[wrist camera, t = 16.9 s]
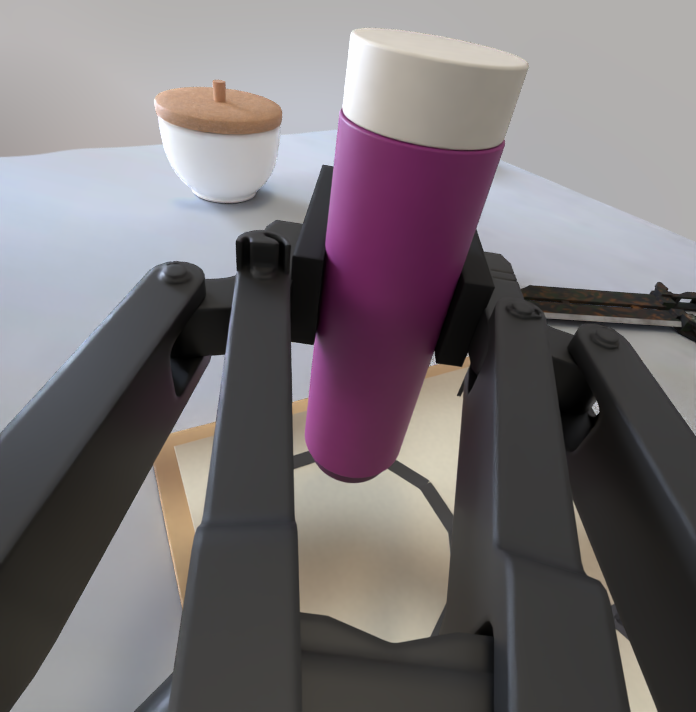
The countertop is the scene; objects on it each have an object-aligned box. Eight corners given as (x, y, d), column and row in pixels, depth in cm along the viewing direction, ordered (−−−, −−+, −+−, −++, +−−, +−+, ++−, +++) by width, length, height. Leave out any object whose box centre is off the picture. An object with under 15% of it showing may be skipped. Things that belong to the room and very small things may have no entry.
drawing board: (150, 448, 21) (147, 435, 21) (477, 361, 30) (482, 350, 29) (357, 1473, 7) (366, 1532, 7) (870, 774, 16) (897, 769, 15)
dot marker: (289, 427, 18) (319, 20, 9) (369, 405, 19) (458, 35, 11) (326, 505, 15) (411, 59, 7) (413, 473, 17) (573, 72, 8)
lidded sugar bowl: (142, 184, 43) (122, 70, 37) (228, 162, 50) (224, 63, 44) (219, 225, 39) (211, 104, 33) (301, 195, 46) (308, 91, 40)
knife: (496, 320, 34) (503, 305, 33) (478, 274, 38) (483, 260, 37) (806, 355, 36) (820, 341, 35) (752, 307, 40) (763, 294, 39)
